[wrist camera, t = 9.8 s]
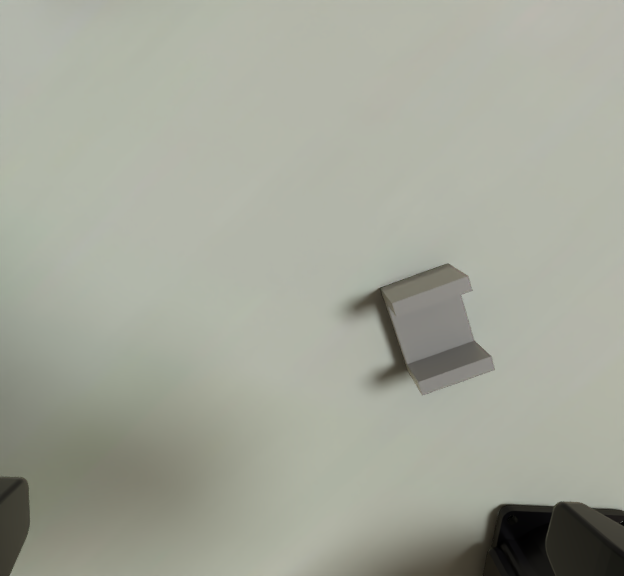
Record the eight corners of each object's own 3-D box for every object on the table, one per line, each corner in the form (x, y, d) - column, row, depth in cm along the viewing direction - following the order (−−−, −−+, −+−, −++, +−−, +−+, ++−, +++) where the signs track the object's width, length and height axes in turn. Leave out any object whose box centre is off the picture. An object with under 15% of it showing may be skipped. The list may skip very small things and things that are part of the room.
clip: (448, 263, 21) (468, 275, 19) (472, 347, 22) (495, 369, 20) (380, 288, 22) (391, 303, 19) (408, 370, 22) (422, 395, 20)
